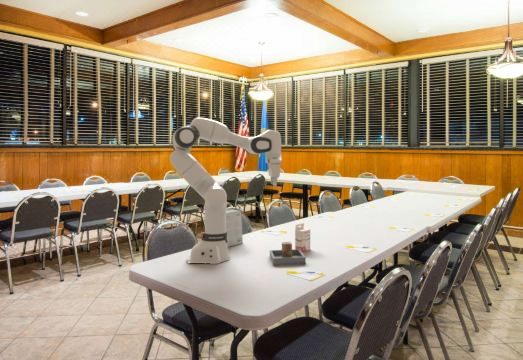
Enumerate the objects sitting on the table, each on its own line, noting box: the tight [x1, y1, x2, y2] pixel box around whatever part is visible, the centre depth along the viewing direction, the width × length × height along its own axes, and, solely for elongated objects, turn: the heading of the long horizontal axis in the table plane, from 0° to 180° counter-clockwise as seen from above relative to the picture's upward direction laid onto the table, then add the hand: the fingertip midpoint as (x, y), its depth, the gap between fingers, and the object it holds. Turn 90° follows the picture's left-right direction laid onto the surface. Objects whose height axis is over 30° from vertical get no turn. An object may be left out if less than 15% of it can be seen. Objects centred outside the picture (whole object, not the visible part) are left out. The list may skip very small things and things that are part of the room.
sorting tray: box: [269, 248, 307, 267], centre depth 205 cm, size 16×16×4 cm
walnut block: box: [281, 241, 293, 258], centre depth 205 cm, size 4×4×8 cm
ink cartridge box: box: [294, 222, 311, 253], centre depth 225 cm, size 9×5×15 cm, turn 141°
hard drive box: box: [226, 209, 244, 248], centre depth 241 cm, size 16×8×20 cm, turn 135°
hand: (273, 185), depth 220 cm, fingers open, 8 cm apart
